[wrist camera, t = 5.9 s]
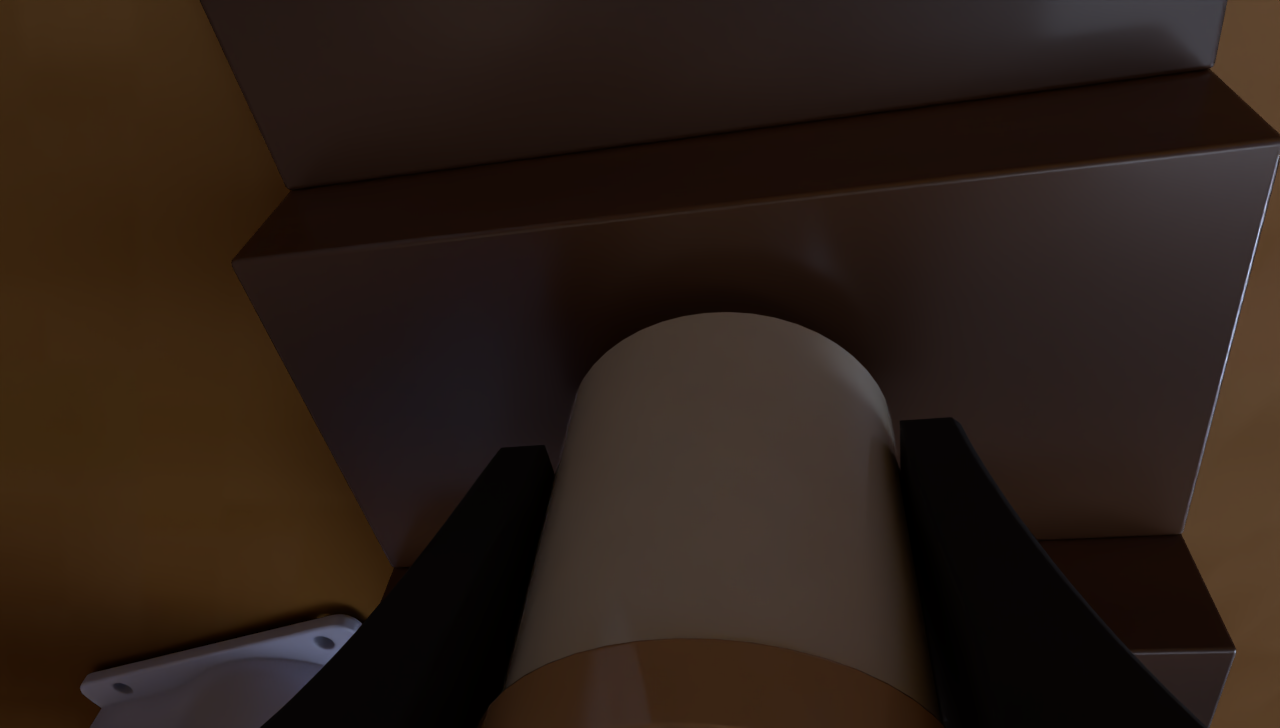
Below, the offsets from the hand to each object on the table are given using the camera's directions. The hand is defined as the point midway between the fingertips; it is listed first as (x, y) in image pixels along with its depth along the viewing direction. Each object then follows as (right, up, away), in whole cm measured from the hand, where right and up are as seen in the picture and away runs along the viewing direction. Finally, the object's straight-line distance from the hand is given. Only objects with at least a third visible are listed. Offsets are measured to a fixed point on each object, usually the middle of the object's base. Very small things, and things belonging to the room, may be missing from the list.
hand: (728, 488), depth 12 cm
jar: (0, +1, +1) cm, 1 cm away
